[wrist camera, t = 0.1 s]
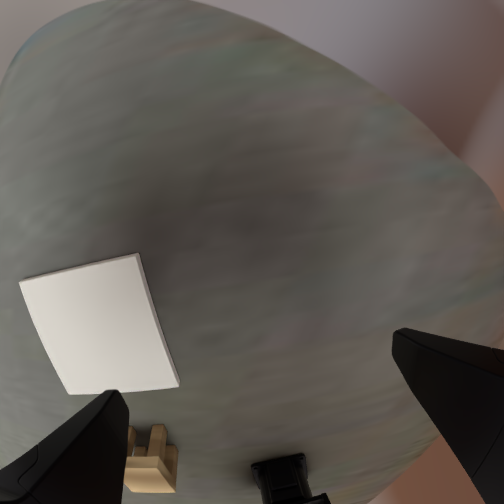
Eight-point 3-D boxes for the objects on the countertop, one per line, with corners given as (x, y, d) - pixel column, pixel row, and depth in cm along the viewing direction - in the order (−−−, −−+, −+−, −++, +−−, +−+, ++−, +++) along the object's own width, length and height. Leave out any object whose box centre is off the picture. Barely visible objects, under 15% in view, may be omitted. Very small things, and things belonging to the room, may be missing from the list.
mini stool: (178, 451, 27) (175, 492, 21) (139, 452, 27) (132, 491, 21) (163, 424, 26) (157, 468, 20) (122, 426, 25) (110, 467, 20)
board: (179, 380, 25) (179, 386, 24) (72, 388, 24) (68, 394, 23) (138, 252, 22) (135, 255, 21) (24, 279, 21) (18, 282, 20)
